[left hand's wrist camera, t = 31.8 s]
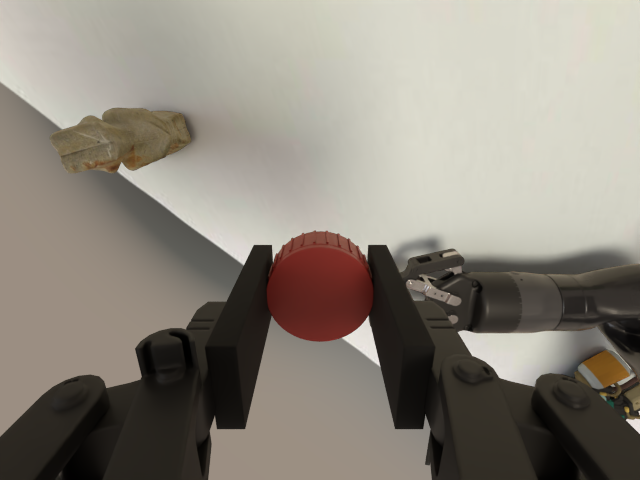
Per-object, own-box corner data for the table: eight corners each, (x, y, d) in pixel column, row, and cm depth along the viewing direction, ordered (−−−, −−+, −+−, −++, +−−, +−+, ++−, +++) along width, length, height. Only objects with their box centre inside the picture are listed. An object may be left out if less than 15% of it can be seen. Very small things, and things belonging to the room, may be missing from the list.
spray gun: (668, 369, 55) (596, 424, 61) (599, 331, 51) (529, 394, 57) (695, 390, 51) (616, 448, 57) (623, 352, 48) (546, 417, 53)
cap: (253, 290, 15) (245, 314, 13) (301, 210, 13) (299, 225, 12) (335, 332, 16) (337, 358, 14) (388, 260, 14) (397, 279, 13)
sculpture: (129, 112, 40) (29, 115, 26) (188, 102, 40) (117, 99, 26) (146, 161, 42) (61, 188, 28) (202, 152, 42) (143, 174, 28)
